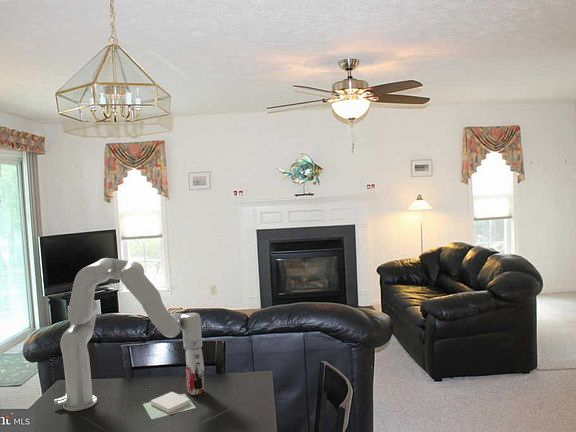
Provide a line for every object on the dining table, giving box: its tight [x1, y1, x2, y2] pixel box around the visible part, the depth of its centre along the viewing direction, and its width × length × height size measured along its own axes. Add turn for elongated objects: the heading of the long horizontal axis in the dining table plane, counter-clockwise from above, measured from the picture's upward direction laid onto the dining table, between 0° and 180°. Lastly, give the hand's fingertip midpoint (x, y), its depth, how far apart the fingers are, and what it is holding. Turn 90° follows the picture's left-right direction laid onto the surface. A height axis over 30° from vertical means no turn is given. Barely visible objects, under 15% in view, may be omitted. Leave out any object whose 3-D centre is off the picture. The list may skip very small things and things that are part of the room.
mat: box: [142, 393, 197, 420], centre depth 200 cm, size 17×15×1 cm
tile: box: [150, 391, 191, 414], centre depth 201 cm, size 2×12×10 cm
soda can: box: [185, 365, 205, 396], centre depth 211 cm, size 7×7×12 cm
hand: (195, 384), depth 211 cm, fingers closed on soda can, 7 cm apart
